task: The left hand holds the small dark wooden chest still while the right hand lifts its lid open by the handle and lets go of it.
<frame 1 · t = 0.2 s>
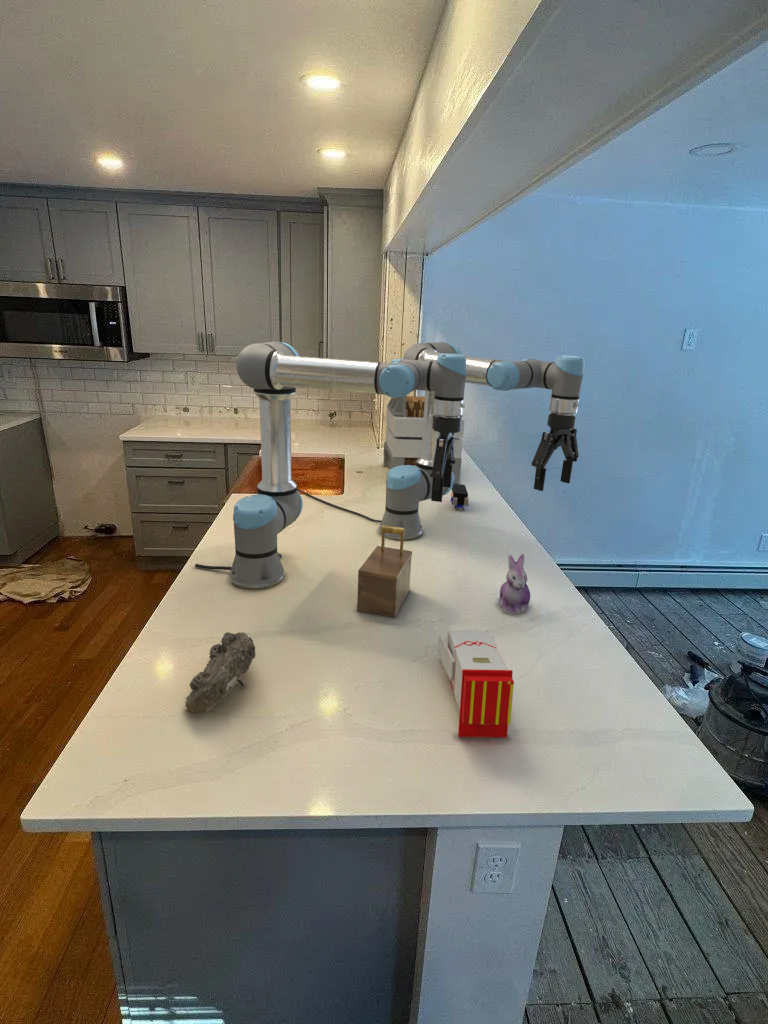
left hand: (441, 493, 154), 28 cm above the counter, tool pointing down, fingers open, 13 cm apart
right hand: (551, 486, 166), 28 cm above the counter, tool pointing down, fingers open, 13 cm apart
lid: (387, 549, 150), point 15 cm above the counter, hinge at 0.0°
chest: (384, 600, 154), on the counter
figurine: (513, 607, 154), on the counter
figurine character: (458, 506, 231), on the counter
toy: (469, 691, 119), on the counter
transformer: (419, 473, 275), on the counter
fossil: (225, 684, 118), on the counter
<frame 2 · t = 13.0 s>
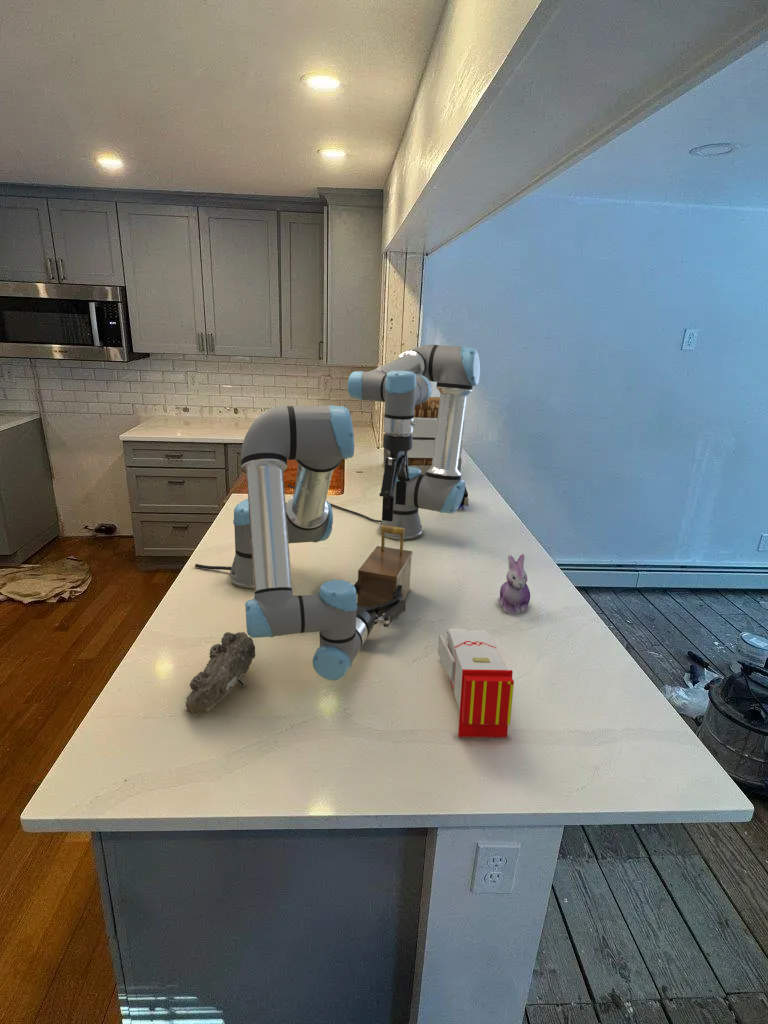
left hand: (380, 586, 148), 6 cm above the counter, tool horizontal, fingers closed on chest, 10 cm apart
right hand: (394, 512, 152), 24 cm above the counter, tool pointing down, fingers open, 13 cm apart
chest: (384, 600, 154), on the counter, touching left hand
everything else where it was.
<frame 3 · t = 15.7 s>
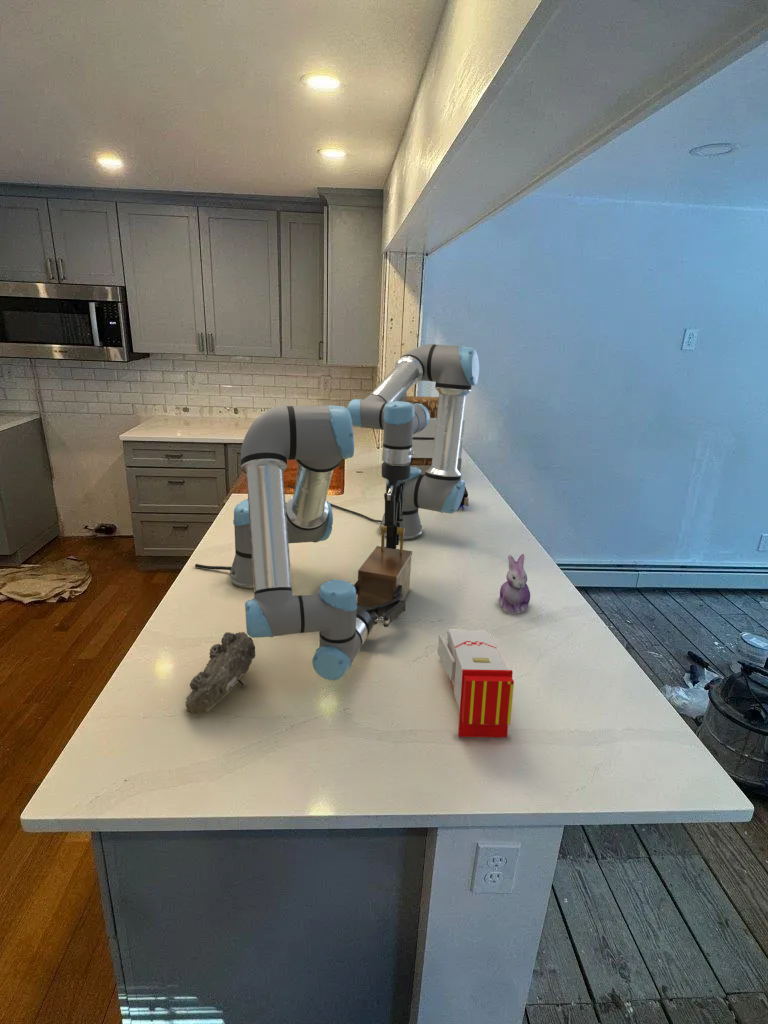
left hand: (380, 586, 148), 6 cm above the counter, tool horizontal, fingers closed on chest, 10 cm apart
right hand: (392, 545, 155), 14 cm above the counter, tool pointing down, fingers closed on lid, 2 cm apart
lid: (386, 549, 150), point 15 cm above the counter, hinge at 0.0°, touching right hand
chest: (384, 600, 154), on the counter, touching left hand
everything else where it was.
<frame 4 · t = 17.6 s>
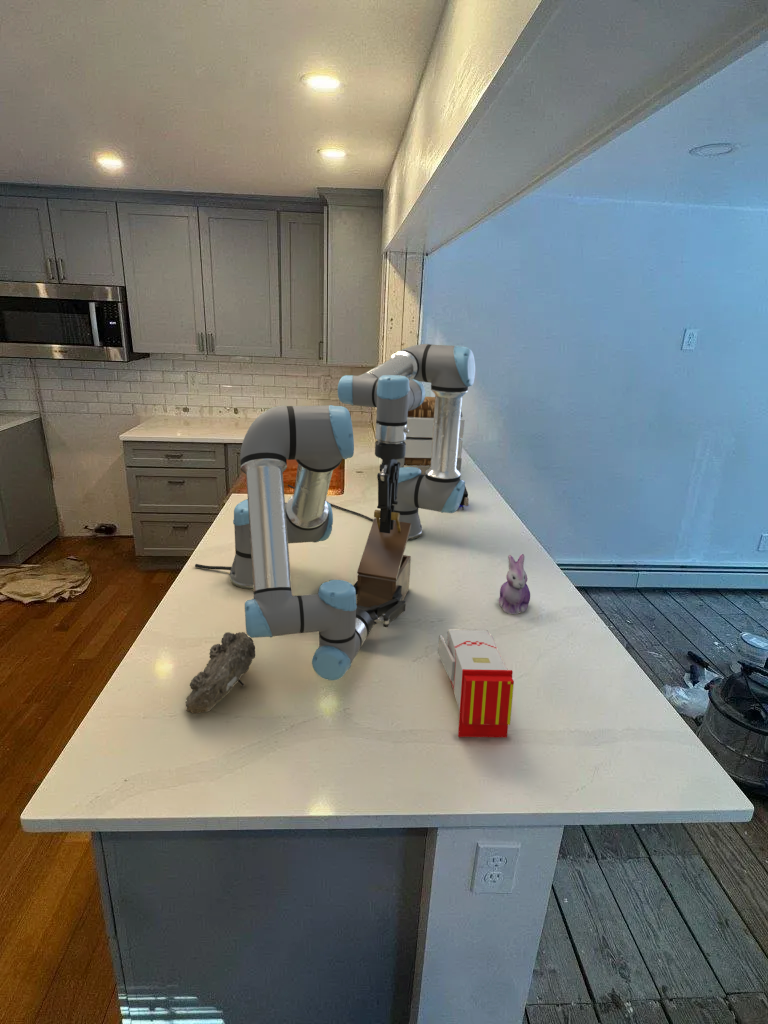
left hand: (379, 586, 148), 6 cm above the counter, tool horizontal, fingers closed on chest, 10 cm apart
right hand: (386, 530, 146), 21 cm above the counter, tool pointing down, fingers closed on lid, 2 cm apart
lid: (383, 540, 145), point 19 cm above the counter, hinge at 34.1°, touching right hand
chest: (383, 599, 154), on the counter, touching left hand
everything else where it was.
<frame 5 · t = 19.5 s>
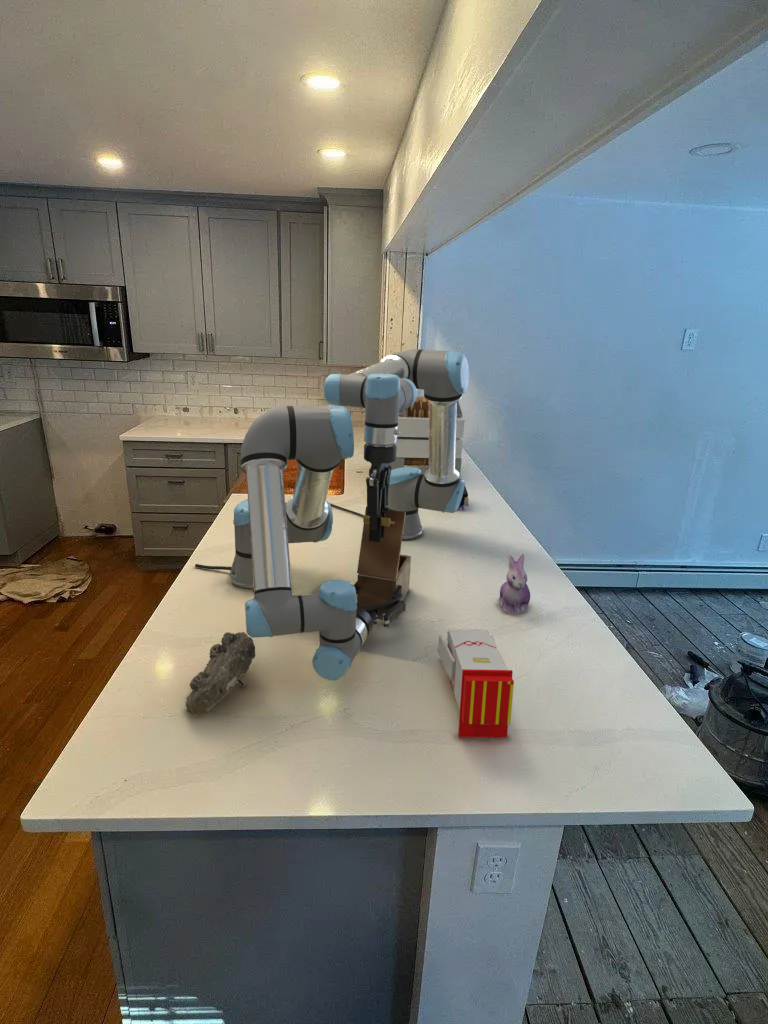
left hand: (379, 586, 148), 6 cm above the counter, tool horizontal, fingers closed on chest, 10 cm apart
right hand: (376, 538, 137), 22 cm above the counter, tool pointing down, fingers open, 2 cm apart
lid: (377, 542, 139), point 20 cm above the counter, hinge at 68.6°
chest: (383, 599, 154), on the counter, touching left hand
everything else where it was.
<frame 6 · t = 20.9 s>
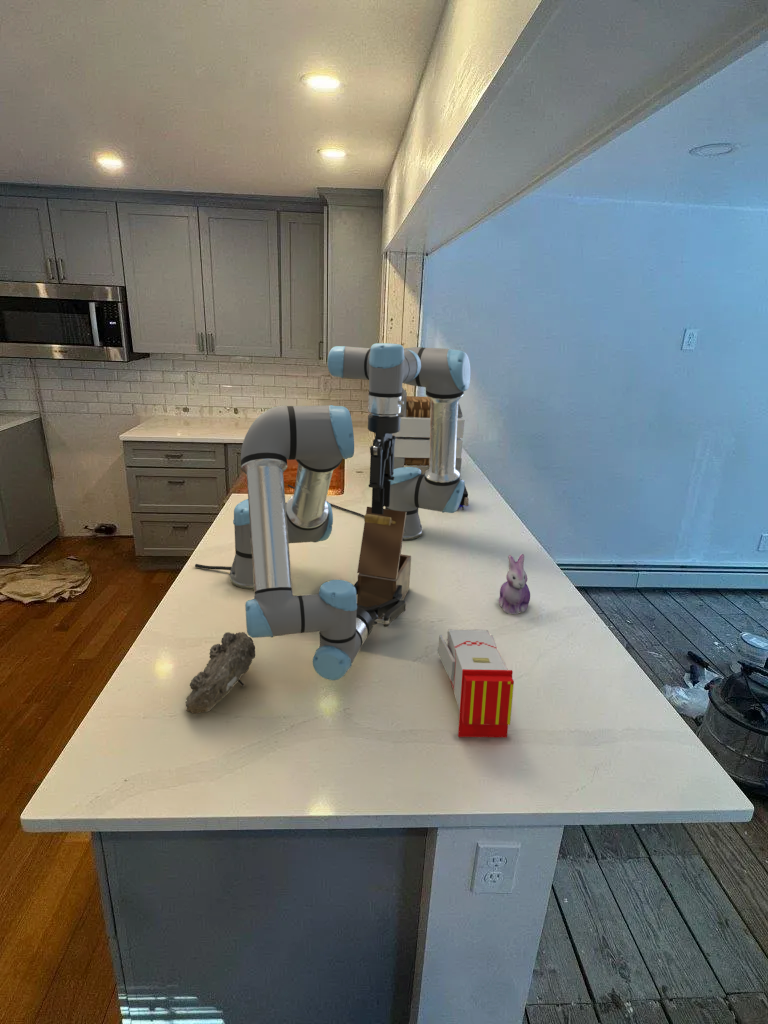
left hand: (380, 586, 148), 6 cm above the counter, tool horizontal, fingers closed on chest, 10 cm apart
right hand: (380, 509, 138), 29 cm above the counter, tool pointing down, fingers open, 5 cm apart
lid: (378, 542, 140), point 20 cm above the counter, hinge at 66.6°
chest: (384, 599, 154), on the counter, touching left hand
everything else where it was.
when the left hand's fingers open (6 cm above the counter, at t = 23.5 s): chest stays where it is, on the counter.
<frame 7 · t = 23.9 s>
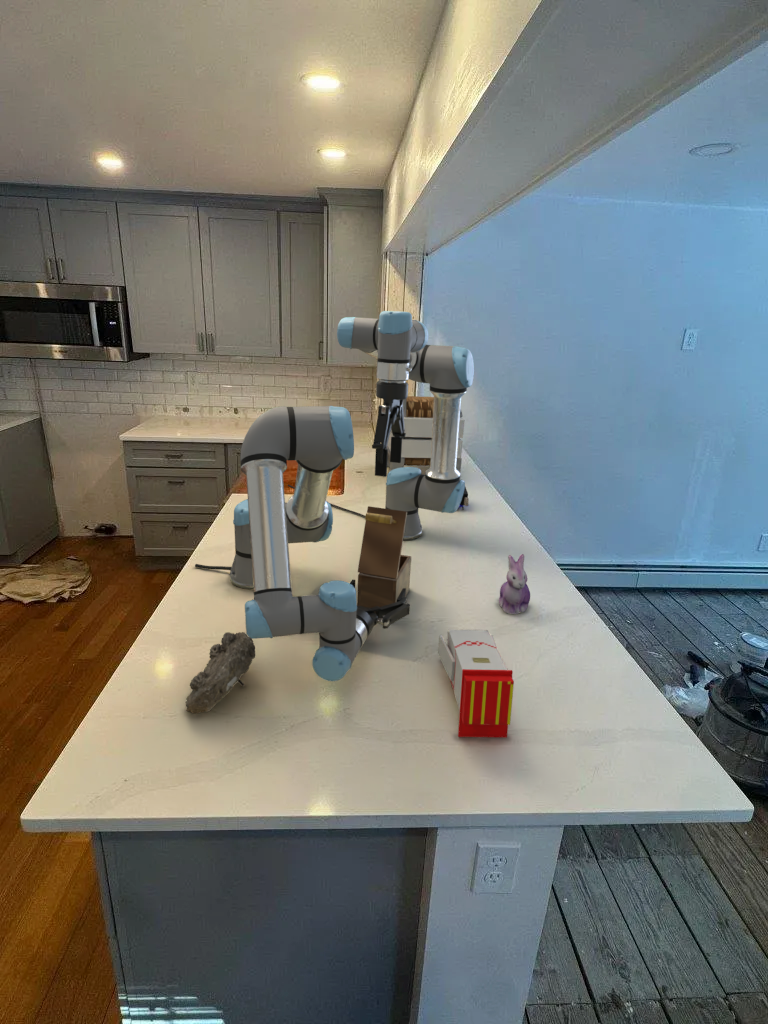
left hand: (378, 588, 147), 6 cm above the counter, tool horizontal, fingers open, 13 cm apart
right hand: (388, 468, 140), 38 cm above the counter, tool pointing down, fingers open, 13 cm apart
lid: (378, 541, 140), point 20 cm above the counter, hinge at 65.5°
chest: (384, 599, 154), on the counter
everything else where it was.
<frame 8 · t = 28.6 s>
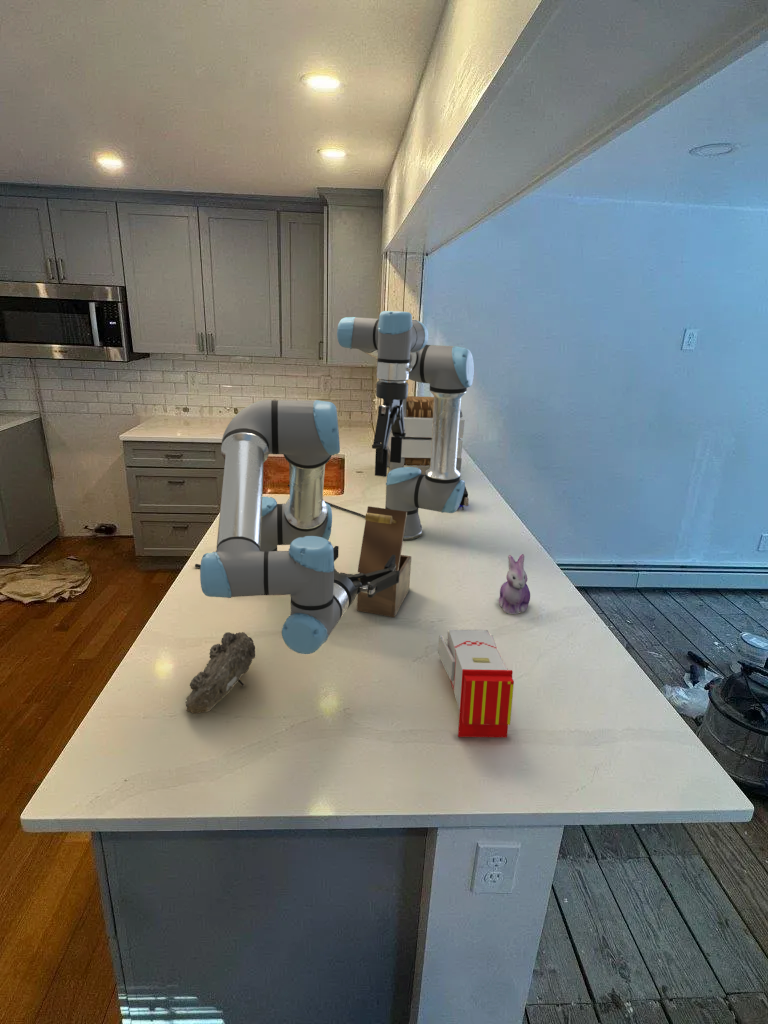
left hand: (365, 555, 129), 21 cm above the counter, tool horizontal, fingers open, 13 cm apart
right hand: (388, 468, 140), 38 cm above the counter, tool pointing down, fingers open, 13 cm apart
nothing on the counter moved.
at the end: lid at +66° (first picture: +0°); the left hand is holding nothing; the right hand is holding nothing; chest tilted 0°; chest never tilted more than 1° during the clip; chest moved 0.2 cm from its start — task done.
